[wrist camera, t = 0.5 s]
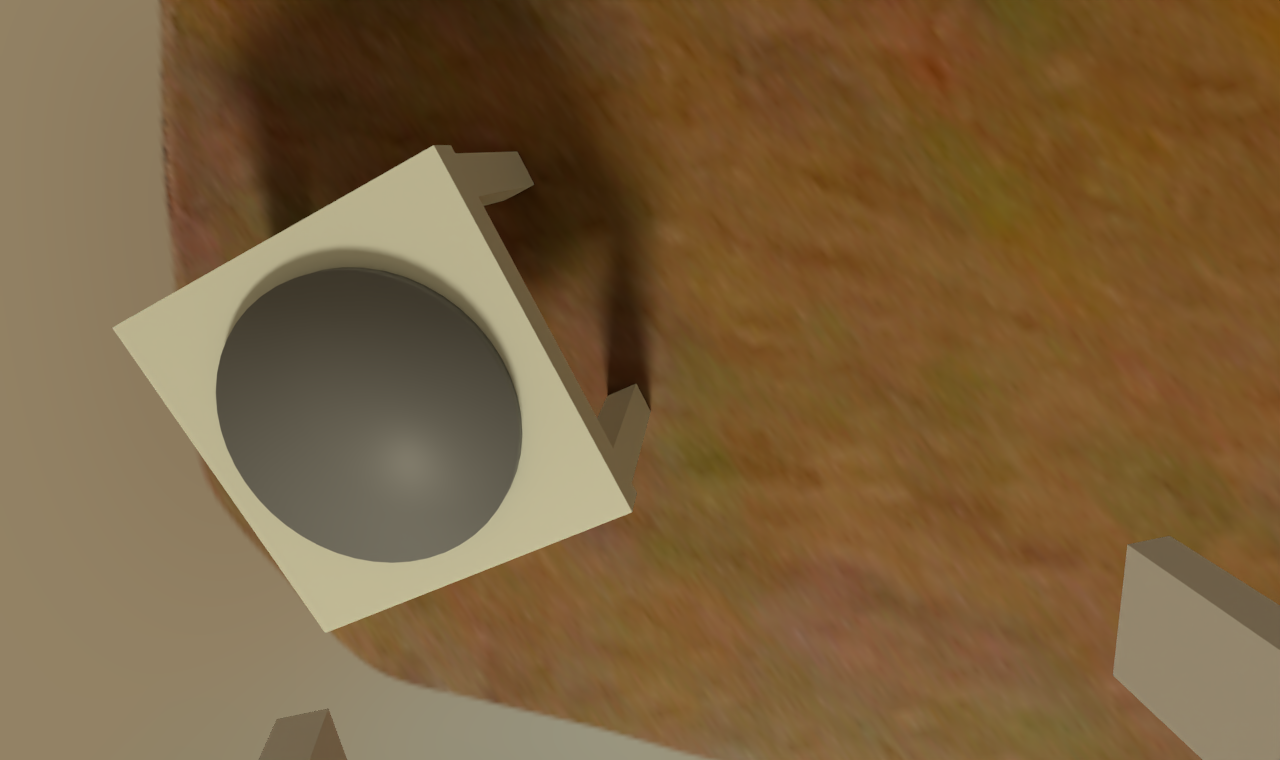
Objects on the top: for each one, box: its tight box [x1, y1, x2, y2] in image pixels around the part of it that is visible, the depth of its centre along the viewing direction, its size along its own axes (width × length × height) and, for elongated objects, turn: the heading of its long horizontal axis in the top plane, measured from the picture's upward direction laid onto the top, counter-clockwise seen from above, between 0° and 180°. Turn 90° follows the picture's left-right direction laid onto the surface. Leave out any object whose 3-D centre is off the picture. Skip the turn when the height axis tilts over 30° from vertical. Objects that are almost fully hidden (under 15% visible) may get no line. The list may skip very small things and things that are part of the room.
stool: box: [113, 145, 651, 633], centre depth 30 cm, size 14×14×11 cm
